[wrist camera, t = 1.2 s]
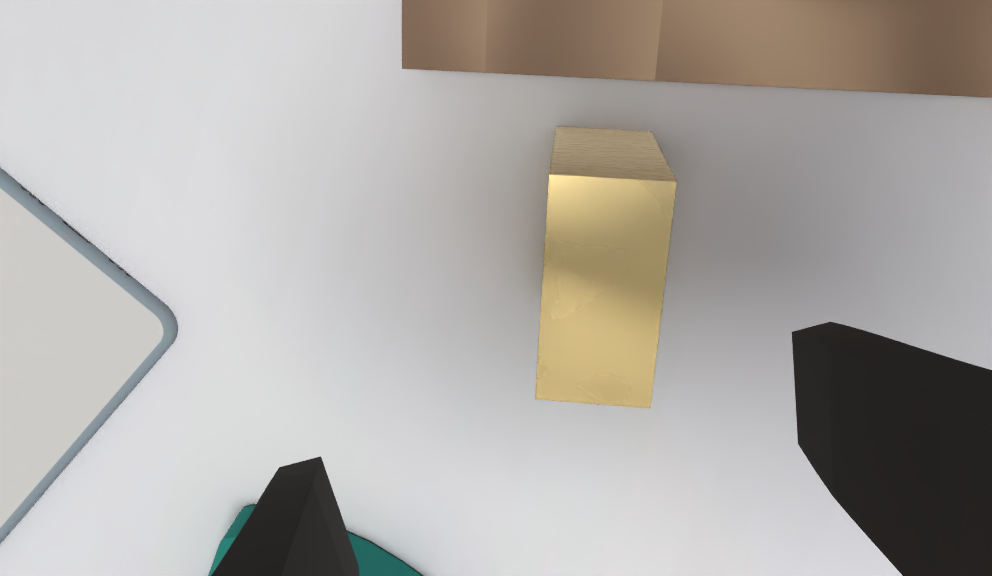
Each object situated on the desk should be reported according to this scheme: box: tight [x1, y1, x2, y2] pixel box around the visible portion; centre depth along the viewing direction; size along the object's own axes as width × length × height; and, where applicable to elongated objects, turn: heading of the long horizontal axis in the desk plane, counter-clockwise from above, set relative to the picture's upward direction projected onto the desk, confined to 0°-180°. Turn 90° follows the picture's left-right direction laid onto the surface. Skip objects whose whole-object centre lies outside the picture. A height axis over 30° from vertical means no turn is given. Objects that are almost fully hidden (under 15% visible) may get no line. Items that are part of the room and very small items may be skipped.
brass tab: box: [535, 126, 677, 408], centre depth 20 cm, size 2×5×6 cm, turn 178°
